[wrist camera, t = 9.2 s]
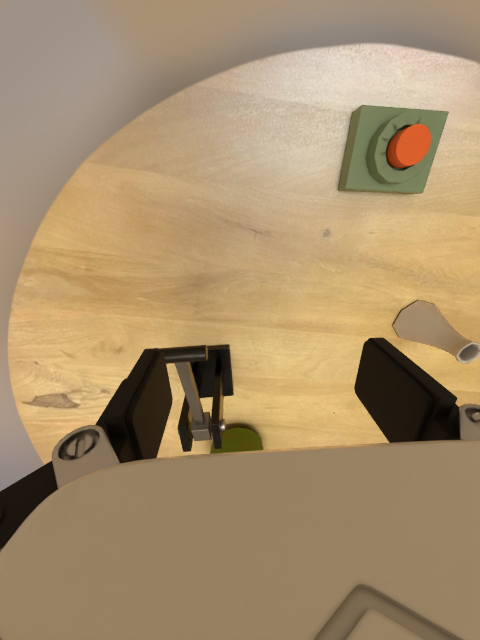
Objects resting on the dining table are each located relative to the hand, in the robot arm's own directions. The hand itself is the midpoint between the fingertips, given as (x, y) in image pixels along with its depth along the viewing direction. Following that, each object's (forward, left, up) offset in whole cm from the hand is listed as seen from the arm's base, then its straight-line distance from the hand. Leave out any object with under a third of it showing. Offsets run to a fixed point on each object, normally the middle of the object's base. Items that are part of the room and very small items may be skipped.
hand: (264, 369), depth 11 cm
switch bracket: (+12, -16, -26) cm, 32 cm away
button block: (+1, +22, -26) cm, 34 cm away
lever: (+6, -12, -13) cm, 19 cm away
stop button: (+1, +22, -22) cm, 31 cm away
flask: (+26, +17, -26) cm, 40 cm away
